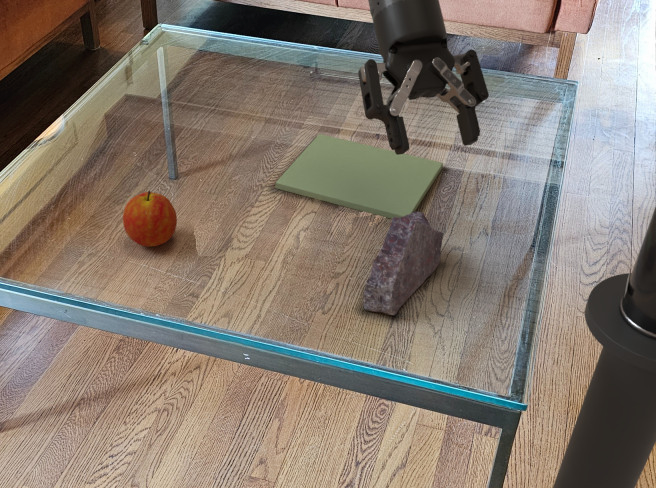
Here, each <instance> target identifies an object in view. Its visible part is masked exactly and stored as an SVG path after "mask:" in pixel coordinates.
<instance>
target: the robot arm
mask: <svg viewBox="0 0 656 488" xmlns="http://www.w3.org/2000/svg"><path fill="white" fill-rule="evenodd" d="M367 2H368V7H369V13H370V15H371V19H372V24H373V27H374V28H373V29H374V31H375V32H374V33H375V36H376V37H375V38H376V40H377V45H378V49H379V54H380V56H381V58H382V62H377V61H376V60H375V59H372V58H370V59H367V61H366V62H365V63H364V64H363V65H362V66H361V67H360V68H359V69H358V71H357V75H358V81H359V86H360V87H359V88H360V93H361V100H362V105H363V110H364V116H365V118H366V119H367V120H369V121H370V120H371V121H372V120H379V121H381V122H382V123H383V124H384V127H385V132H386V136H387V140H388V145H389V148H390V150H391V151H395V153H396V154H397V155H399V154H406V153H407V152H409V150H410V143H409V138H408V134H407V128H406V124H405V121H404V117H403V116H402V115H401V116H400V114H401V112H402V110H403V107H404V105H405V102H406V101H407V99H408V101H412V100H417V99H420V98H426V99H430V98H431V99H432V98H435V97H437V98H438V99H439V100H440V101H442V103H446V104H448V105H449V106H450V107H451V108H452V109H453V110H454V111H455V112H456V113H457V115H456V121H457V125H458V129H459V133H460V138H461V142H462V145H463V146H472V145H473V144H475V143H476V142H478V139H479V137H480V136H481V128H480V126H479V120H478V116H477V112H476V107H478V106H479V105H481V104H482V103H483V102H485V101H486V100H487V99H488V98H489V96H490V93H489V90H488V87H487V83H486V80H485V77H484V73H483V71H482V67H481V64H480V60H479V57H478V53H477V52H476V50H474V49H468V50H467V51H466V52H465V53H462V54H461V53H460V54H455V55H453V54H452V52H451V51H450V49H449V47H448V33H447V29H446V25H445V20H444V16H443V12H442V7H441V4H440V0H368V1H367ZM454 69H455V70H456V71H455V73H456V74H455V73H454V72H453V70H454ZM457 75H459V76H460V78H461V79H460V78H459V77H458V76H457ZM383 77H384V78H385V79H386V80H387V81H388V83H390V85H392V89H391V91H390V93H389V95H388V98H387V100H386V104H384V98H383V92H382V87H381V80H382V79H383ZM447 86H448V87H449V88H446V87H447ZM628 273H629V275H630V273H631V276H630V279H629V276H628V279H627V284H626V289H625V292H624V295H623V297H622V299H621V302H620V305H619V311H620V314H621V316H622V318H623V319H624V321H625V322H626V323H627V324H628V325H629V326H630V327H631V328H633V329H634V330H635V331H637V332H639V333H640V334H642V335H644V336H646V337H649V338H651V339H654V340H656V206H655V207H654V210H653V213H652V215H651V218H650V220H649V224H648V226H647V229H646V232H645V234H644V237H643V240H642V243H641V245H640V247H639V252H638V254H637V256H636V260H635V263H634V265H633V268H632V270H631V272H628ZM628 281H629V282H628Z"/></svg>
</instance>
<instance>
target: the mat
mask: <svg viewBox="0 0 656 488" xmlns="http://www.w3.org/2000/svg"><path fill="white" fill-rule="evenodd" d="M443 166H444V162H442V161H438V160H433V159H429V158H424V157H421V156H416V155H412V154H407V153H404V154H399V155H397V154H396V153H395V150H391V149H385V148H382V147H378V146H373V145H368V144H363V143H360V142H356V141H351V140H349V139H343V138H339V137H335V136H331V135H326V134H321V133H319V134H318V135H317V136H316V137H315V138H314V139H313V140H312V142H310V144H309V145H308V146H307V147H306V148H305V149H304V150H303V152H302V153H301V154H300V155H299V156H298V157H297V158H296V160H294V161H293V162H292V164H291V165H290V166H289V167H288V168H287V169H286V171H285V172H283V174H282V175H281V176H280V177H279V178H278V179H277V180H276V181H275V189H277V190H280V191H285V192H288V193H292V194H296V195H300V196H303V197H307V198H310V199H315V200H319V201H322V202H326V203H330V204H334V205H338V206H341V207H345V208H349V209H353V210H355V211H359V212H360V211H361V212H364V213H367V214H368V213H369V214H372V215H375V216H379V217H383V218H387V219H391V220H392V219H393V217H404V216H406V215H408V214H410V213H412V212H416V211H417V209H418V207H419V206H420V204H421V202H422V201H423V199H424V198H425V196H426V194H427V193H428V191H429V190H430V189H431V187H432V186H433V184H434V182H435V180H436V179H437V177H438V176H439V175H440V173H441V171H442V169H443Z"/></svg>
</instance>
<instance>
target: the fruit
mask: <svg viewBox="0 0 656 488" xmlns="http://www.w3.org/2000/svg"><path fill="white" fill-rule="evenodd" d="M177 218H178V217H177V211H176V209H175V207H174V206H173V204H172V202H171V200H169V198H168V197H167V196H165V195H163V194H161V193H157V192H153V191H152V192H151V190H148V191H145V192H141V193H139V194H137V195H135V196H134V197H132V198H131V199H129V201H128V202H127V203H126V205H125V207H124V209H123V213H122V224H123V229H124V231H125V233H126V235H127V236H128V237H129V239H130V240H131V241H133V242H134V243H136V244H138V245H139V246H143V247H147V248H149V247H157V246H160V245H163V244H165V243H166V242H168V241H169V240H170V239H171V238H172V237H173V235H174V234H175V231H176V228H177V224H178V219H177Z"/></svg>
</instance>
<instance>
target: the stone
mask: <svg viewBox="0 0 656 488" xmlns="http://www.w3.org/2000/svg"><path fill="white" fill-rule="evenodd" d="M443 238H444V232H442V231H438V230H436V229H435V228H434V227H432V225H431V224H430V223H429V220H428V218H427V217H426V215H425V213H424V212H421V211H415V212H412V213H410V214H408V215H406V216H404V217H393V219H391V221H390V225H389V227H388V230H387V232H386V235H385V237H384V241H383V243H382V246H381V249H380V250H379V252H378V254H377V255H376V256H375V258H374V259H373V261H372V263H371V270H370V275H369V277H368V279H367V280H366V281H365V285H364V286H365V288H364V291H363V295H362V296H363V301H362V302H363V308H364V310H366V311H368V312H373V313H383V314H385V315H389V316H395V315H397V313H398V311H399V310H400V309H401V307H402V306H403V305H404V304H405V303H406V302H407V300H408V299H409V298H410V297H411V296H412V295H413V294H414V293H415V292H416V290H418V289H419V287H421V286H422V285H423V284H424V282H425V281H426V279H427V278H429V277H430V276H431V275H432V274H433V273H434V272H435V271H436V270H437V268H438V267H439V266H440V264H441V257H442V255H441V254H442V245H443Z"/></svg>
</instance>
